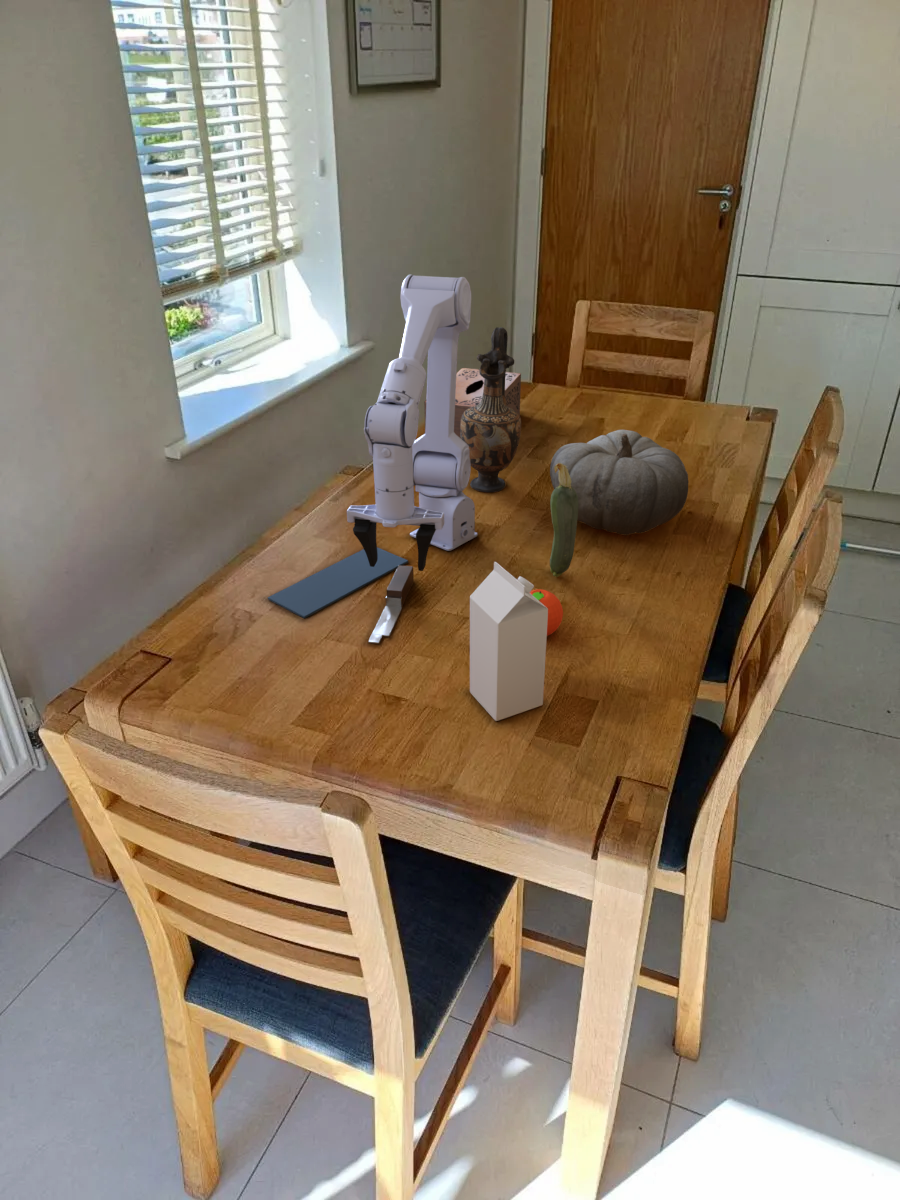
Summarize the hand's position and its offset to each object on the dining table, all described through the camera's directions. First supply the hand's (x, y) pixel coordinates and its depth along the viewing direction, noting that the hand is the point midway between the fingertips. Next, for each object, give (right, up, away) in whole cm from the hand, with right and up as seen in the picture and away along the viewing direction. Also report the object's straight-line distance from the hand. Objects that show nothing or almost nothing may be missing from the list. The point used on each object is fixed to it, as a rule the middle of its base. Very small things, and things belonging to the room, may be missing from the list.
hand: (397, 565), depth 135 cm
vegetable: (+26, -2, +7) cm, 27 cm away
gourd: (+38, +10, +26) cm, 48 cm away
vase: (+16, +18, +40) cm, 46 cm away
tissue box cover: (+14, +34, +66) cm, 75 cm away
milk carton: (+15, -19, -20) cm, 31 cm away
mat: (-10, -2, +7) cm, 12 cm away
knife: (-1, -7, -1) cm, 7 cm away
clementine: (+21, -11, -7) cm, 24 cm away
